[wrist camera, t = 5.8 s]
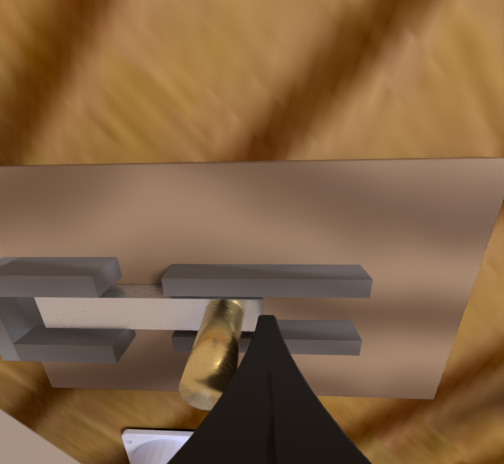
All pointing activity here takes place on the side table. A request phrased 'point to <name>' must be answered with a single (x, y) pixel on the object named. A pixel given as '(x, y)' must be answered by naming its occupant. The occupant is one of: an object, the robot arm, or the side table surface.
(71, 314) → the bolt
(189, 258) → the door board
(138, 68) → the side table surface
